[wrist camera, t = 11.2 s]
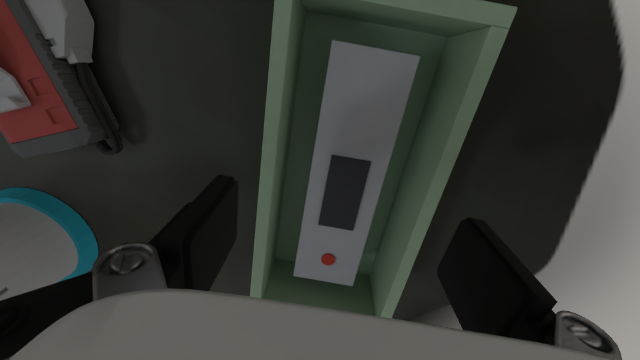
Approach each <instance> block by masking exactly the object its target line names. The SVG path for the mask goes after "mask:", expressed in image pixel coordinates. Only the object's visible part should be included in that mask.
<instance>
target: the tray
mask: <svg viewBox="0 0 640 360" xmlns="http://www.w3.org/2000/svg"><path fill="white" fill-rule="evenodd" d="M516 11H517V7H514V6H509V5H504V4H499V3H493V2H488V1H483V0H274V12H273V24H272V36H271V48H270V60H269V72H268V84H267V97H266V109H265V121H264V133H263V145H262V157H261V169H260V181H259V193H258V205H257V217H256V229H255V242H254V254H253V266H252V278H251V290H250V297H255V298H262V299H269V300H275V301H282V302H288V303H295V304H302V305H308V306H315V307H321V308H328V309H334V310H341V311H347V312H354V313H360V314H366V315H373V316H379V317H385V318H392V316H393V313H394V311H395V308H396V306H397V303H398V301H399V298H400V296H401V293H402V291H403V289H404V286H405V284H406V281H407V279H408V276H409V274H410V271H411V269H412V266H413V264H414V262H415V259H416V257H417V254H418V252H419V249H420V247H421V244H422V242H423V240H424V237H425V235H426V232H427V230H428V227H429V225H430V222H431V220H432V217H433V215H434V213H435V210H436V208H437V205H438V203H439V200H440V198H441V195H442V193H443V190H444V188H445V186H446V183H447V181H448V178H449V176H450V173H451V171H452V168H453V166H454V163H455V161H456V159H457V156H458V154H459V151H460V149H461V146H462V144H463V141H464V139H465V137H466V134H467V132H468V129H469V127H470V124H471V122H472V119H473V117H474V114H475V112H476V110H477V107H478V105H479V102H480V100H481V97H482V95H483V92H484V90H485V87H486V85H487V83H488V80H489V78H490V75H491V73H492V70H493V68H494V65H495V63H496V60H497V58H498V56H499V53H500V51H501V48H502V46H503V43H504V41H505V38H506V36H507V33H508V31H509V28H510V26H511V23H512V21H513V18H514V16H515V14H516ZM332 40H337V41H343V42H348V43H354V44H359V45H364V46H370V47H375V48H381V49H386V50H391V51H397V52H402V53H408V54H413V55H418V56H420V60H419V63H418V67H417V70H416V73H415V77H414V80H413V84H412V87H411V90H410V94H409V97H408V101H407V104H406V107H405V111H404V114H403V118H402V121H401V124H400V128H399V131H398V135H397V138H396V141H395V145H394V148H393V152H392V155H391V158H390V162H389V165H388V168H387V172H386V175H385V179H384V182H383V185H382V189H381V192H380V196H379V199H378V202H377V206H376V209H375V213H374V216H373V219H372V223H371V226H370V230H369V233H368V236H367V240H366V243H365V247H364V250H363V253H362V257H361V260H360V264H359V267H358V270H357V274H356V277H355V281H354V284H353V286H348V285H342V284H337V283H331V282H325V281H319V280H313V279H308V278H302V277H296V276H293V274H294V268H295V261H296V255H297V249H298V243H299V237H300V231H301V225H302V219H303V213H304V207H305V201H306V195H307V189H308V183H309V177H310V170H311V164H312V158H313V152H314V146H315V140H316V134H317V128H318V122H319V116H320V110H321V104H322V98H323V92H324V85H325V79H326V73H327V67H328V61H329V55H330V49H331V43H332Z"/></svg>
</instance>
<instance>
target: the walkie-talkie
mask: <svg viewBox="0 0 640 360" xmlns="http://www.w3.org/2000/svg"><path fill="white" fill-rule="evenodd" d="M93 36H94V20H93V18H92V16H91V14H90V12H89V10H88V7H87V5H86V3H85V1H84V0H0V133H1V135H2V136H3V137H4V139H5V140H6V142H7V144H8V145H9V146H10V147H11V149H12V151H14V152H15V153H16V154H18V155H19V156H20V157H22V158H23V159H25V158H30V157H34V156H39V155H44V154H48V153H53V152H57V151H62V150H66V149H71V148H75V147H80V146H84V145H87V144H91V143H95V145H96V146H97V148H98V149H99V150H100V151H101V152H102V153H104V154H108V155H114V154H116V153H119V152H121V151H122V148H123V144H122V139H121V137H120V135H119V133H118V129H119V124H118V122H117V120H116V118H115V116H114V114H113V112H112V110H111V108H110V106H109V104H108V102H107V101H106V99H105V96H104V94H103V93H102V91H101V88H100V86H99V85H98V83H97V80H96V79H95V77H94V75H93V73H92V71H91V69H90V68H89V66H88V63H91V62H93V60H92V58H91V57H92V49H93ZM107 138H110V140H111V143H112V148H111V147H110V146H109V145H108V144H107V143H106V141H105V139H107Z"/></svg>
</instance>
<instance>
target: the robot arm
mask: <svg viewBox="0 0 640 360" xmlns="http://www.w3.org/2000/svg"><path fill="white" fill-rule="evenodd" d="M237 208H238V182H237V181H234V178H233V177H230V176H224V175H218V176H217V177H216V178H215V179H214V180H213V181H212V182H211V183H210V184H209V185H208V186H207V187H206V188H205V189H204V190H203V191H202V192H201V193H200V194H199V195H198V196H197V197H196V198H195V199H194V201H193V202H189V203H188V204H186V205H185V206H184V207H183V208H182V209H181V210H180V211H179V212H178V213H177V214H176V215H175V216H174V217H173V218H172V219H171V220H170V221H169V222H168V223H167V225H166V226H165V227H164V228H163V229H162V230H161V231H160V232H159V233H158V234H157V235H156V236H155V237H154V238H153V239H152V240H151V241H150V242H149V243H145V242H129V243H123V244H120V245H117V246H114V247H112V248H110V249H108V250H106V251H105V252H103V253H102V254H101V255H100V256H98V258H97V259H96V260H95V262H94V264H93V268H92V271H91V272H88V273H85V274H82V275H79V276H76V277H73V278H70V279H66V280H63V281H60V282H57V283H54V284H51V285H48V286H45V287H41V288H38V289H35V290H32V291H29V292H26V293H23V294H20V295H16V296H13V297H10V298H7V299H4V300H1V301H0V360H622V358H621V353H620V350H619V348H618V346H617V344H616V343H615V342H614V341H613V340H612V338H611V337H610V336H609V335H608V334H607V333H606V332H604V330H602V329H601V328H600V327H598V326H597V325H596V324H594V323H593V322H591V321H589V320H588V319H586V318H584V317H582V316H580V315H578V314H576V313H573V312H569V311H560V312H557V314H555V313H554V312H553V311H552V308H553V307H554V305H555V304H556V303H557V301H556V300H555V299H554V298H553V296H552V295H551V294H550V293H549V292H548V291H547V290H546V289H545V288H544V287H543V285H542V284H541V283H540V282H539V281H538V280H537V279H536V278H535V276H534V275H533V274H532V273H531V272H530V271H529V270H528V269H527V268H526V267H525V265H524V264H523V263H522V262H521V261H520V260H519V259H518V258H517V257H516V255H515V254H514V253H513V252H512V251H511V250H510V249H509V248H508V247H507V245H506V244H505V243H504V242H503V241H502V240H501V239H500V238H499V237H498V235H497V234H496V233H495V232H494V231H493V230H492V229H491V228H490V227H489V226H488V224H487V223H486V222H485V221H484V220H480V219H474V218H466V219H465V220H462V221H461V222H460V224H459V226H458V228H457V230H456V232H455V234H454V236H453V238H452V240H451V242H450V244H449V246H448V248H447V250H446V252H445V254H444V256H443V258H442V260H441V262H440V264H439V266H438V269H437V275H438V278H439V280H440V282H441V284H442V286H443V288H444V291H445V293H446V295H447V297H448V299H449V301H450V303H451V305H452V308H453V310H454V312H455V314H456V316H457V318H458V320H459V323H460V324H461V327H462V329H463V330H459V329H454V328H448V327H441V326H435V325H429V324H423V323H417V322H411V321H404V320H398V319H392V318H385V317H379V316H373V315H366V314H360V313H354V312H347V311H341V310H334V309H328V308H321V307H315V306H308V305H302V304H295V303H288V302H282V301H275V300H269V299H262V298H255V297H249V296H242V295H235V294H227V293H219V292H210V291H209V290H210V288H211V286H212V284H213V283H214V281H215V279H216V277H217V275H218V273H219V271H220V269H221V267H222V265H223V264H224V262H225V260H226V258H227V256H228V254H229V252H230V250H231V248H232V246H233V245H234V243H235V240H236V235H237Z"/></svg>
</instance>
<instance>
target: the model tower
mask: <svg viewBox="0 0 640 360" xmlns="http://www.w3.org/2000/svg"><path fill="white" fill-rule="evenodd" d="M97 258H98V246H97V241H96V239H95V237H94V234H93V232H92V231H91V229H90V228H89V226H88V225H87V223H86V222H85V221H84V220H83V219H82V218H81V216H80V215H79V214H78V213H77V212H75V211H74V210H73V209H72V208H71V207H69V206H68V205H67V204H65V203H63V202H62V201H60V200H59V199H57V198H55V197H53V196H51V195H49V194H47V193H44V192H41V191H38V190H35V189H31V188H23V187H14V188H7V189H4V190H1V191H0V301H1V300H4V299H7V298H10V297H13V296H16V295H20V294H23V293H26V292H29V291H32V290H35V289H38V288H41V287H45V286H48V285H51V284H54V283H57V282H60V281H63V280H66V279H70V278H73V277H76V276H79V275H82V274H85V273H86V272H88V271H90V270H91V269H92V268H93V264H94V262H95V260H96V259H97Z"/></svg>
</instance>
